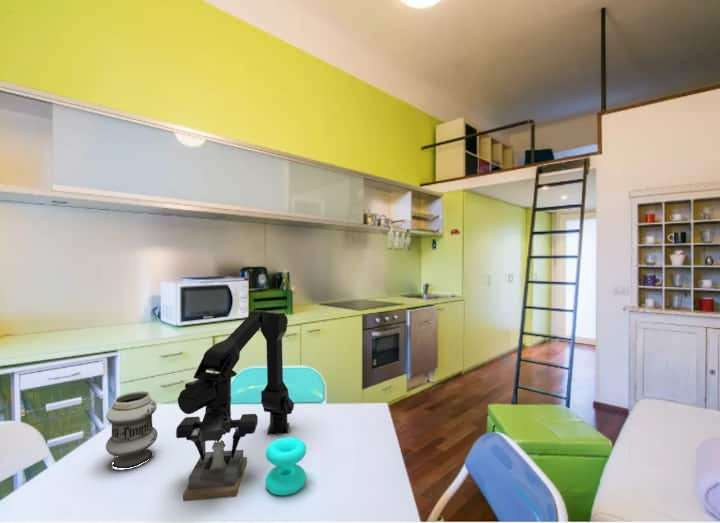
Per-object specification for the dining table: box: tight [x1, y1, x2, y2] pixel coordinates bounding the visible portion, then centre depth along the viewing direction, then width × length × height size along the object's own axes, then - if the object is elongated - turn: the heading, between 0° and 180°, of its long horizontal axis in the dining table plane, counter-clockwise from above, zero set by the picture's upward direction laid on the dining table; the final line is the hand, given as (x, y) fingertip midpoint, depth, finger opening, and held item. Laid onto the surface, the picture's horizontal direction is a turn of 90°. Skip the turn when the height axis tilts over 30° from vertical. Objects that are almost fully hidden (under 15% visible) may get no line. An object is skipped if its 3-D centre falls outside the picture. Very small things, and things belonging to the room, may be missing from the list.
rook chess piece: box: [210, 439, 227, 469], centre depth 88 cm, size 4×4×8 cm
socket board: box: [182, 449, 248, 502], centre depth 88 cm, size 14×12×4 cm
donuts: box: [264, 436, 307, 496], centre depth 86 cm, size 10×10×10 cm
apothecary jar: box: [105, 390, 158, 468], centre depth 96 cm, size 12×12×18 cm
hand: (218, 458), depth 88 cm, fingers open, 7 cm apart
